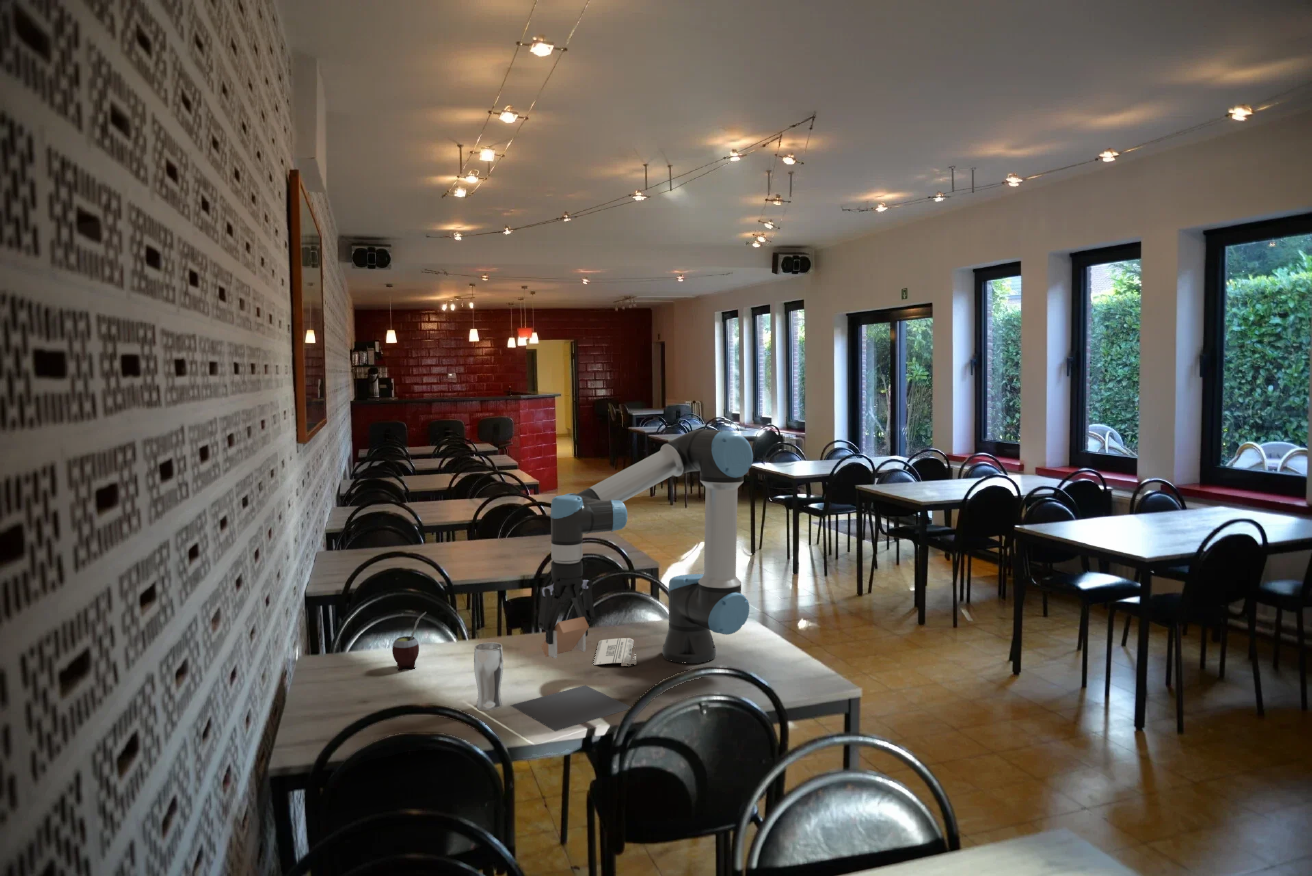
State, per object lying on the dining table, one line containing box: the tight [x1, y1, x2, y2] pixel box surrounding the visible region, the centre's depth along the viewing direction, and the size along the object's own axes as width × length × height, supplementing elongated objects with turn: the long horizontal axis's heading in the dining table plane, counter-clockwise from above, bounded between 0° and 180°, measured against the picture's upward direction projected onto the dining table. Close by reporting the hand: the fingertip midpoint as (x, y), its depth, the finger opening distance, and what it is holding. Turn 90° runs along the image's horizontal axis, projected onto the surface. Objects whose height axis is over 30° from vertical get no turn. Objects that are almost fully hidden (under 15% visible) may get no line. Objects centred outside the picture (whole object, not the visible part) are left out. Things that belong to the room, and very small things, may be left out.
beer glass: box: [473, 641, 504, 712], centre depth 219 cm, size 7×7×15 cm
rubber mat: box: [509, 684, 631, 732], centre depth 218 cm, size 22×20×1 cm
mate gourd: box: [391, 611, 427, 672], centre depth 248 cm, size 8×8×15 cm
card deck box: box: [540, 617, 590, 658], centre depth 221 cm, size 8×3×11 cm
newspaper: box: [592, 637, 637, 667], centre depth 260 cm, size 23×12×2 cm, turn 178°
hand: (567, 653), depth 220 cm, fingers closed on card deck box, 7 cm apart
